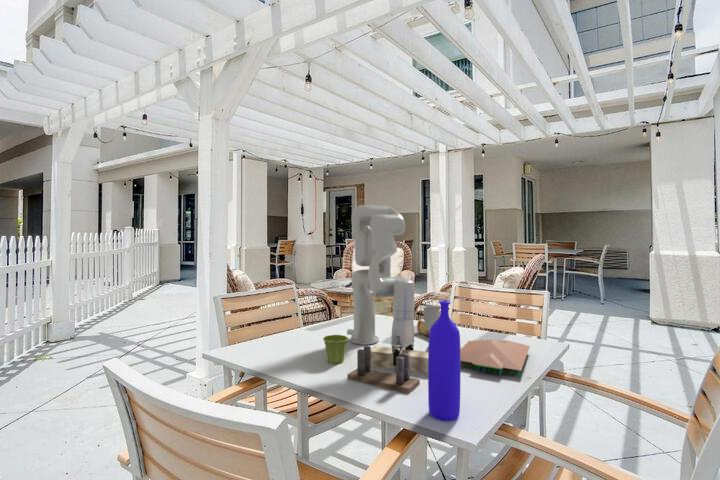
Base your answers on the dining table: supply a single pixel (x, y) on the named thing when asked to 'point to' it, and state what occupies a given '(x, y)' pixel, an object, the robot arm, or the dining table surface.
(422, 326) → the snack package
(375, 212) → the robot arm
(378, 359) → the shelf board
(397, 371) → the peg stand
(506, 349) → the house
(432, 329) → the bottle
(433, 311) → the chalice
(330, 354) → the plant pot
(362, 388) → the dining table surface
